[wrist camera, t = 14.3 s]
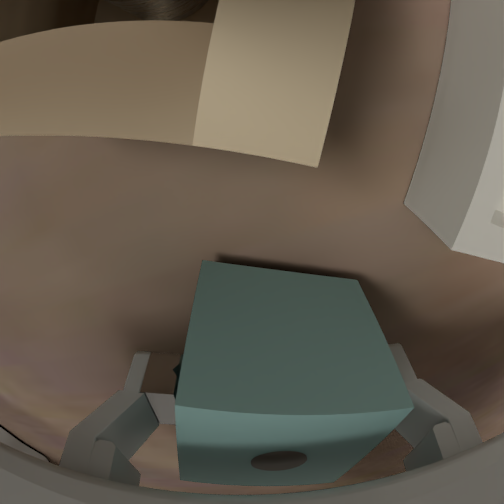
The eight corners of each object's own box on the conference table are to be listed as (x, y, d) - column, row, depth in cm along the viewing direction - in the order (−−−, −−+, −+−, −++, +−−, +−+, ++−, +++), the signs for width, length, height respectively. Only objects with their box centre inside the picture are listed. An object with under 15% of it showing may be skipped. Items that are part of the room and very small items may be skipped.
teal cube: (314, 375, 12) (333, 483, 8) (194, 365, 12) (180, 481, 7) (357, 279, 10) (414, 408, 5) (202, 260, 9) (174, 407, 5)
